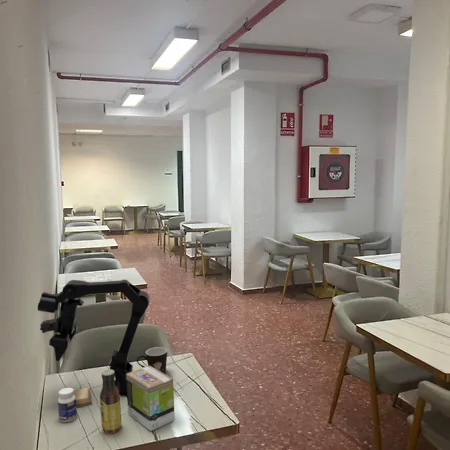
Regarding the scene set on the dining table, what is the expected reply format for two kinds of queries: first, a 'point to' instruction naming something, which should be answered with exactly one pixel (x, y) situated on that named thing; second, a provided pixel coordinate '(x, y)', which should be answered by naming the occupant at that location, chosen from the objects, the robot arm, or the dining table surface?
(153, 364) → the coffee mug
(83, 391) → the stand
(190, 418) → the dining table surface
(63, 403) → the pill bottle
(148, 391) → the tea box
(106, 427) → the sauce bottle
